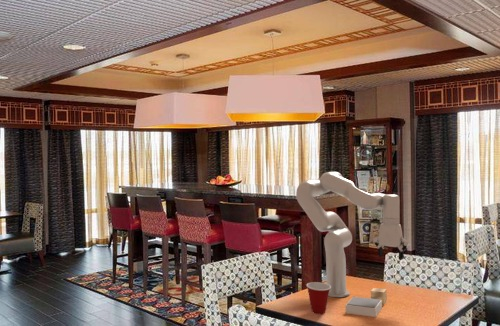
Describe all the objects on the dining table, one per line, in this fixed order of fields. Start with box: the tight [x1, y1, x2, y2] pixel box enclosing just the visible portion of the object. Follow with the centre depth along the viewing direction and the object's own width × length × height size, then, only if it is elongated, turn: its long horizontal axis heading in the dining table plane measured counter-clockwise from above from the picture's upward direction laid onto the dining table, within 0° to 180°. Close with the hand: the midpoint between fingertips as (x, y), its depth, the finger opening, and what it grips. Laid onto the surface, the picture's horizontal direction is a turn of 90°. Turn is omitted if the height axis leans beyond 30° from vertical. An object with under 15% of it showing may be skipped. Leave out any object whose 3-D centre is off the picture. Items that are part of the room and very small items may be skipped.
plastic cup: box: [305, 281, 331, 315], centre depth 212 cm, size 11×11×12 cm
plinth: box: [344, 296, 383, 318], centre depth 213 cm, size 13×13×4 cm
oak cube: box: [370, 287, 388, 306], centre depth 224 cm, size 6×6×6 cm
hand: (390, 258), depth 223 cm, fingers open, 9 cm apart
